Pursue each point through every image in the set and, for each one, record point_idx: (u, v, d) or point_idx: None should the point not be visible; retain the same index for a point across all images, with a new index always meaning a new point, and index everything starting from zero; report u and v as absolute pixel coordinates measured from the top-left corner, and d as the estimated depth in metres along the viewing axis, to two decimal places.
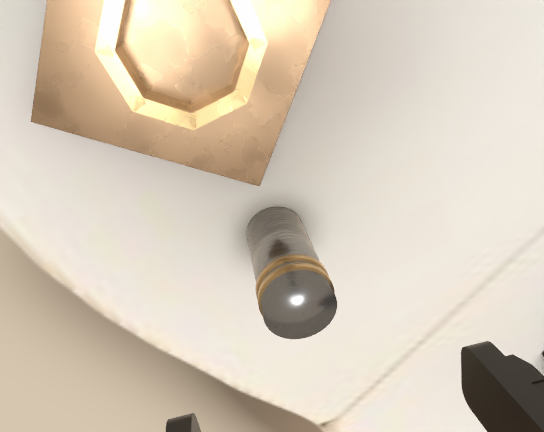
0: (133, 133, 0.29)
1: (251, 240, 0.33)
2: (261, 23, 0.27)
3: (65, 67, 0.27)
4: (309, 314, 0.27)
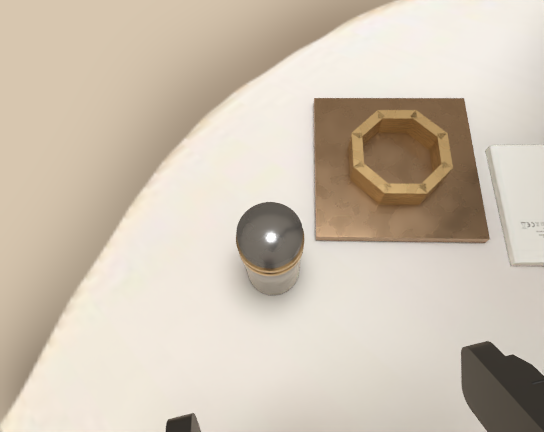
0: (326, 148, 0.44)
1: None
2: (427, 201, 0.41)
3: (353, 109, 0.46)
4: (267, 241, 0.31)
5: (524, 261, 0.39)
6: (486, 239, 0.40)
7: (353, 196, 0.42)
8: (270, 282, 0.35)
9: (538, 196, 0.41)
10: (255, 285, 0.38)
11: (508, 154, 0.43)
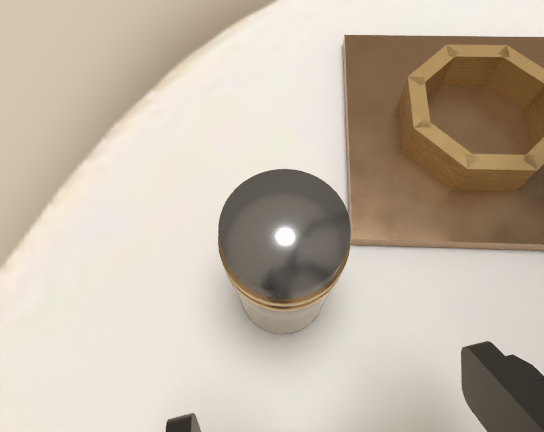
0: (365, 104, 0.29)
1: None
2: (527, 186, 0.26)
3: (402, 51, 0.30)
4: (279, 244, 0.15)
5: None
6: None
7: (409, 176, 0.26)
8: (280, 318, 0.19)
9: None
10: (252, 318, 0.23)
11: None
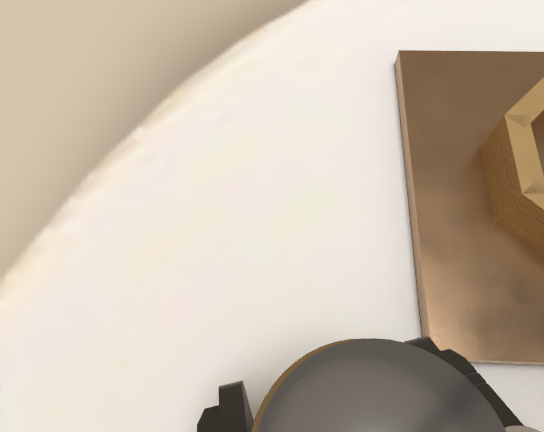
0: (434, 149, 0.21)
1: None
2: None
3: (480, 72, 0.22)
4: None
5: None
6: None
7: (507, 258, 0.18)
8: None
9: None
10: None
11: None
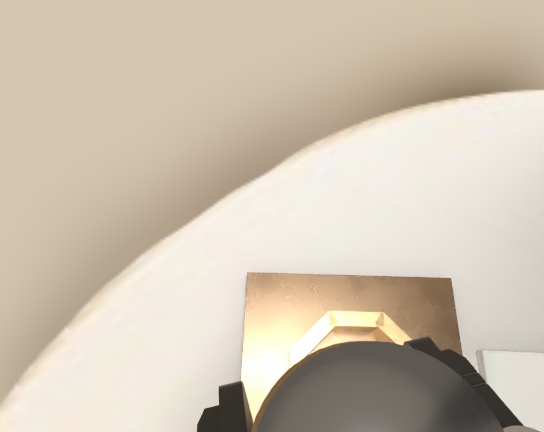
0: (259, 356, 0.31)
1: None
2: None
3: (299, 292, 0.33)
4: None
5: None
6: None
7: None
8: None
9: None
10: None
11: (508, 368, 0.31)
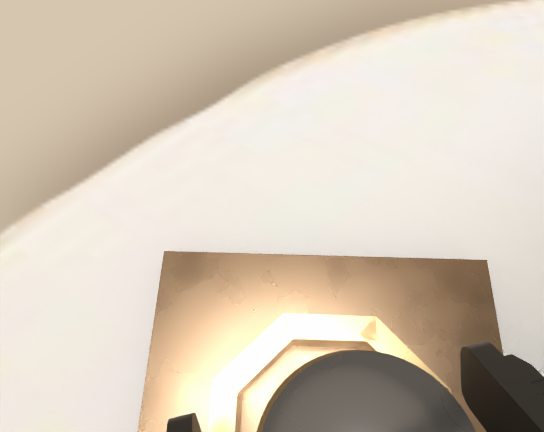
0: (171, 386, 0.19)
1: None
2: None
3: (243, 282, 0.21)
4: None
5: None
6: None
7: None
8: None
9: None
10: None
11: None
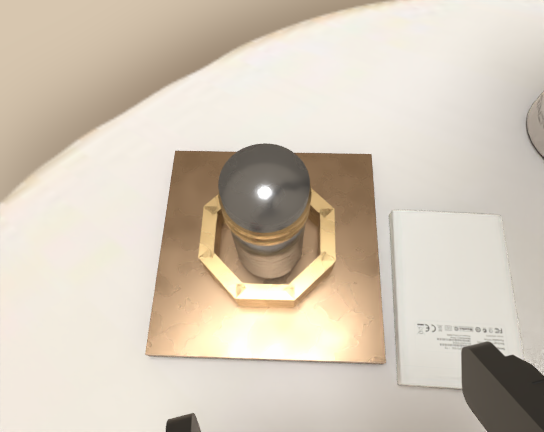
0: (180, 221, 0.32)
1: None
2: (305, 303, 0.30)
3: None
4: (260, 194, 0.22)
5: (414, 383, 0.28)
6: (381, 362, 0.28)
7: (205, 293, 0.30)
8: (265, 257, 0.26)
9: (447, 287, 0.30)
10: (246, 265, 0.29)
11: (415, 224, 0.32)
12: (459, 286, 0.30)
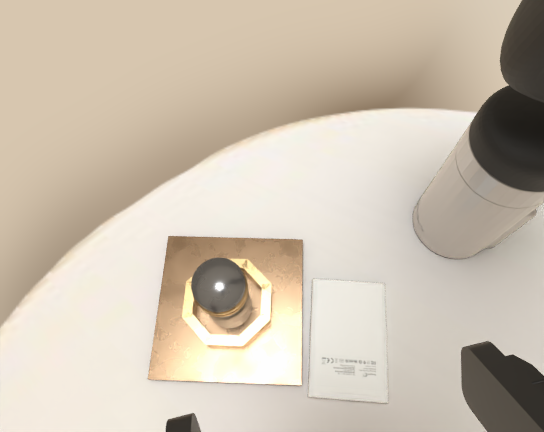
0: (171, 288, 0.48)
1: None
2: (252, 345, 0.46)
3: (201, 249, 0.50)
4: (215, 290, 0.38)
5: (316, 396, 0.44)
6: (299, 385, 0.44)
7: (187, 338, 0.46)
8: (223, 320, 0.42)
9: (343, 333, 0.46)
10: (213, 320, 0.45)
11: (326, 289, 0.48)
12: (351, 332, 0.46)
